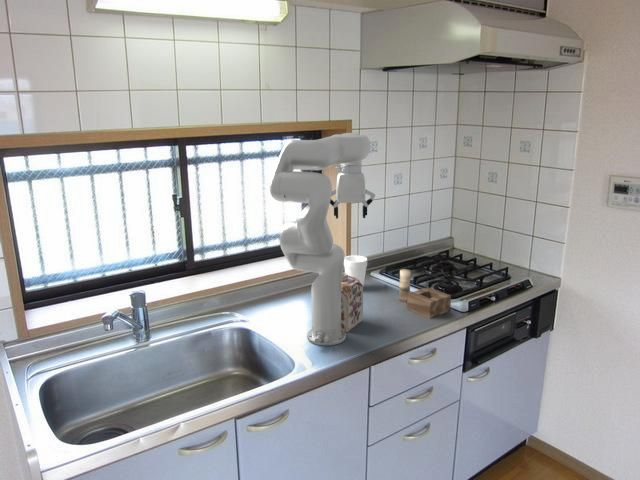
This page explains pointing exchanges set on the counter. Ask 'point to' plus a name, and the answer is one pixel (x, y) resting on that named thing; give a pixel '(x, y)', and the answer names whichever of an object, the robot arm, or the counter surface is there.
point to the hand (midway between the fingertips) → (350, 217)
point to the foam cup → (356, 267)
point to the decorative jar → (351, 302)
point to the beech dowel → (404, 284)
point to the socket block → (428, 302)
